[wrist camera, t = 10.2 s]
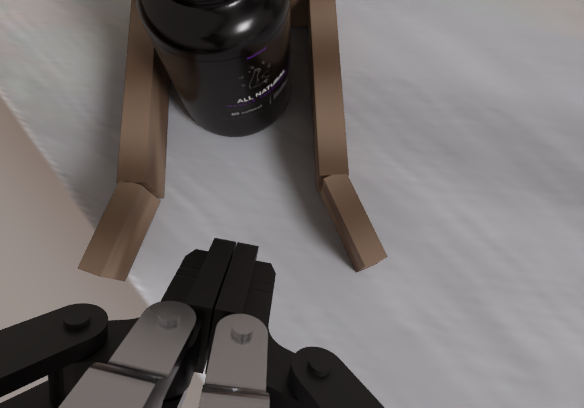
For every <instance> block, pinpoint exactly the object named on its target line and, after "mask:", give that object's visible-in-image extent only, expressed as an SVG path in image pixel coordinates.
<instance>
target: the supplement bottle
mask: <svg viewBox="0 0 584 408" xmlns="http://www.w3.org/2000/svg"><path fill="white" fill-rule="evenodd" d="M135 2H136V7H137V11H138V14H139V16H140V19H141V21H142V24H143V26H144V28H145V30H146V32H147V34H148V36H149V38H150V40H151V42H152V44H153V46H154V48H155V50H156V52H157V54H158V55H159V57H160V59H161V61H162V63H163V65H164V67H165V69H166V71H167V73H168V75H169V77H170V79H171V81H172V83H173V85H174V87H175V89H176V91H177V93H178V95H179V97H180V99H181V101H182V103H183V104H184V106H185V108H186V110H187V112H188V113H189V115H190V116H191V117H192V118H193V120H194V121H195V122H196V123H197V124H199V125H200V126H201V127H203V128H204V129H206V130H208V131H210V132H212V133H215V134H218V135H221V136H227V137H242V136H248V135H252V134H255V133H257V132H260V131H262V130H264V129H265V128H267V127H268V126H270V125H271V124H272V123H273V122H275V121H276V120H277V118H278V117H279V116H280V115H281V114H282V112H283V110H284V109H285V107H286V105H287V102H288V99H289V95H290V88H291V0H135Z"/></svg>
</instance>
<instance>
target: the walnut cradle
mask: <svg viewBox="0 0 584 408" xmlns="http://www.w3.org/2000/svg"><path fill="white" fill-rule="evenodd" d="M301 26H308V38H309V56H310V74H311V93H312V111H313V129H314V147H315V166H316V184H317V192H321V194H320V195H321V197H322V200H323V202H324V204H325V206H326V208H327V210H328V212H329V215H330V217H331V219H332V221H333V223H334V225H335V228H336V230H337V232H338V234H339V236H340V238H341V240H342V243H343V245H344V247H345V249H346V251H347V253H348V256H349V258H350V260H351V262H352V264H353V266H354V268H355V271H356V273H357V272H359V271H361V270H363V269H366V268H368V267H370V266H373V265H375V264H377V263H378V262H380V261H381V260H383V259H385V258H386V257H387V255H386V253H385V251H384V249H383V247H382V245H381V243H380V240H379V238H378V236H377V234H376V232H375V230H374V228H373V226H372V224H371V222H370V220H369V218H368V216H367V214H366V212H365V210H364V208H363V206H362V204H361V202H360V200H359V198H358V196H357V194H356V192H355V189H354V187H353V185H352V183H351V181H350V179H349V177H348V175H349V170H348V158H347V145H346V132H345V119H344V106H343V93H342V80H341V67H340V54H339V41H338V28H337V15H336V3H335V0H291V27H301ZM169 86H170V77H169V75H168V73H167V71H166V69H165V67H164V65H163V63H162V61H161V59H160V57H159V55H158V54H157V52H156V50H155V48H154V46H153V44H152V42H151V40H150V38H149V36H148V34H147V32H146V30H145V28H144V26H143V24H142V21H141V19H140V16H139V14H138V11H137V7H136V2H135V0H132V1H131V13H130V25H129V38H128V50H127V62H126V74H125V86H124V98H123V110H122V122H121V134H120V146H119V159H118V171H117V187H116V189H115V191H114V193H113V195H112V197H111V199H110V201H109V203H108V205H107V208H106V210H105V212H104V214H103V216H102V218H101V220H100V222H99V224H98V226H97V228H96V231H95V233H94V235H93V237H92V239H91V241H90V243H89V245H88V247H87V249H86V251H85V254H84V256H83V258H82V260H81V262H80V264H79V266H78V269H81V270H83V271H86V272H89V273H92V274H94V275H97V276H100V277H106V278H111V279H116V280H121V281H125V280H126V278H127V276H128V273H129V271H130V269H131V267H132V264H133V262H134V260H135V258H136V255H137V253H138V251H139V249H140V246H141V244H142V242H143V240H144V237H145V235H146V233H147V230H148V228H149V226H150V224H151V221H152V219H153V217H154V215H155V212H156V210H157V208H158V206H159V203H160V200H159V199H157V198H164V187H165V167H166V147H167V127H168V106H169Z"/></svg>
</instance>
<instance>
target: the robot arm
mask: <svg viewBox="0 0 584 408" xmlns="http://www.w3.org/2000/svg"><path fill="white" fill-rule="evenodd" d="M258 247H259V246H255V245H250V244H244V243H239V242H238V243H237V245H236V242H234V241H229V240H223V239H218V238H215V239H214V240H213V243H212V245H211V247H210V249H209V251H203V250H198V249H196V250H194V251H193V252H191V253H189V254H188V255H186V256H185V258H184V260H183V261H182V263H181V265H180V268H179V269H178V271H177V272H176V275H175V276H174V278H173V280H172V281H171V283H170V285H169V287H168V289H167V291H166V292H165V294H164V296H163V298H162V300H161V302H158V303H155V304H153V305H151V306H149V307H148V308H147V309H146V310H145V311H144V312H143V314H142V315H141V317H139V318H136V319H129V320H112V321H108V316H107V313H106V312H105V311H104V310H103V309H102V308H100V307H99V306H96V305H92V304H73V305H68V306H66V307H62V308H60V309H57V310H55V311H51V312H49V313H46V314H43V315H41V316H38V317H35V318H32V319H30V320H27V321H24V322H21V323H19V324H16V325H13V326H10V327H8V328H5V329H2V330H0V397H2V396H4V395H6V394H9V393H11V392H13V391H15V390H17V389H19V388H21V387H23V386H25V385H28V384H29V383H32V382H34V381H36V380H38V379H40V378H43V377H45V376H47V375H48V381H46V382H44V383H42V384H39V385H37V386H35V387H33V388H31V389H29V390H27V391H25V392H23V393H21V394H19V395H17V396H15V397H13V398H10V399H8V400H6V401H4V402H2V403H0V408H181V407H182V405H183V403H184V400H185V398H186V395H187V388H188V387H189V385H190V382H191V379H192V376H193V373H194V372H197V373H203V371H204V368H205V365H206V362H207V365H206V372H205V374H206V379H205V384H204V385H203V389H202V393H201V398H200V402H199V407H198V408H384V407H383V406H382V404H381V403H380V402H379V401H378V400H377V399H376V398H375V397H374V396H373V395H372V394H371V393H370V391H369V390H368V389H367V388H366V387H365V386H364V385H363V384H362V383H361V382H360V381H359V379H358V378H357V377H356V376H355V375H354V374H353V373H352V372H351V371H350V370H349V369H348V368H347V366H346V365H345V364H344V363H343V362H342V361H341V360H340V359H339V358H338V357H337V356H336V355H335V354H333V353H332V352H330V351H328V350H326V349H323V348H320V347H306V348H302V349H300V350H299V351H297V352H296V353H294V352H291V351H289V350H287V349H285V348H283V347H282V346H280V345H279V344H278V343H277V342H275V340H274V339H273V338H272V337H271V335H270V333H269V329H268V323H269V316H270V309H271V303H272V296H273V289H274V282H275V275H276V273H275V271H274V269H273V267H272V265H271V263H266V262H260V261H256V258H257V253H258Z"/></svg>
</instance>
